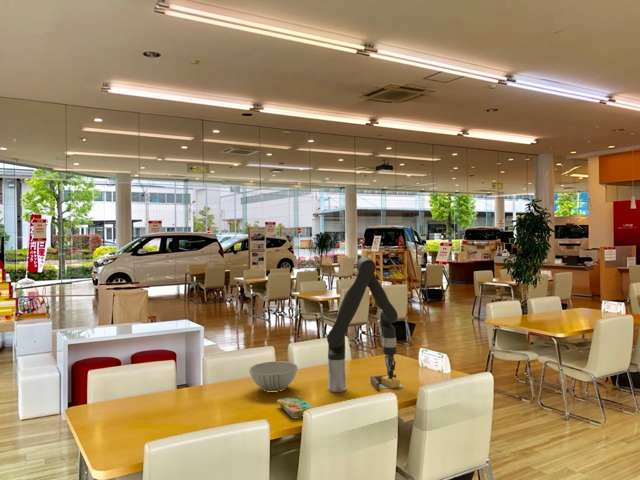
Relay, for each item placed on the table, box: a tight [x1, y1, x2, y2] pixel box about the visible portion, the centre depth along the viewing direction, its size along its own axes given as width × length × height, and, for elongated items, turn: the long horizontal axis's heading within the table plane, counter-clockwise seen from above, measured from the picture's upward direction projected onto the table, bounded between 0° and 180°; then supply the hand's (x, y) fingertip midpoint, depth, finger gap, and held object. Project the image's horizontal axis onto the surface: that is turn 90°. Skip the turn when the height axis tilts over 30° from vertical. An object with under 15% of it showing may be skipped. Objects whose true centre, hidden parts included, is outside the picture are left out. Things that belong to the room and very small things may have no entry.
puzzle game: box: [276, 395, 315, 419], centre depth 244 cm, size 12×5×20 cm
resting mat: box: [379, 383, 404, 390], centre depth 280 cm, size 12×8×1 cm, turn 98°
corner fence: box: [370, 373, 397, 391], centre depth 280 cm, size 15×14×4 cm
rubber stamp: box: [380, 364, 401, 389], centre depth 279 cm, size 10×6×12 cm, turn 29°
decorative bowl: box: [249, 360, 299, 392], centre depth 279 cm, size 27×27×12 cm
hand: (390, 376), depth 280 cm, fingers closed on rubber stamp, 3 cm apart
